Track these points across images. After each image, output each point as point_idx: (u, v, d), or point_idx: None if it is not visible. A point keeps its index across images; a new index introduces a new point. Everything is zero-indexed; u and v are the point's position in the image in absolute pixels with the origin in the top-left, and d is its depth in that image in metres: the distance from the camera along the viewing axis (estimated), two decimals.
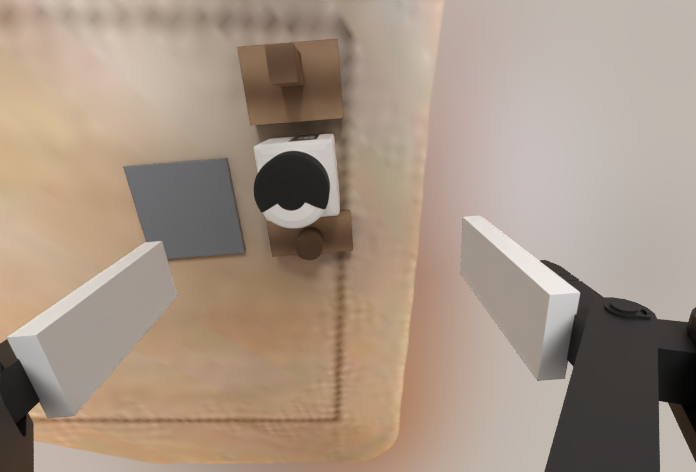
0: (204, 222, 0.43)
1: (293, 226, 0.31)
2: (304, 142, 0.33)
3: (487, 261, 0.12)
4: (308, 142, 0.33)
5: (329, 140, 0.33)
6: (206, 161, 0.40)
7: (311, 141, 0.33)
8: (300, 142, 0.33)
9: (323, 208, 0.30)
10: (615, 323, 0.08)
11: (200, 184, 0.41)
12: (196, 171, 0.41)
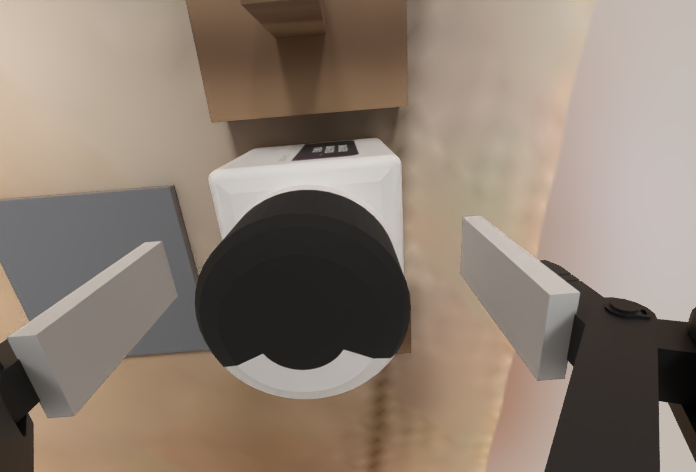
0: None
1: (308, 398, 0.11)
2: (332, 164, 0.13)
3: (487, 261, 0.12)
4: (342, 164, 0.13)
5: (393, 159, 0.13)
6: (132, 193, 0.21)
7: (349, 161, 0.13)
8: (322, 164, 0.13)
9: (392, 355, 0.11)
10: (615, 323, 0.08)
11: (125, 235, 0.22)
12: (114, 211, 0.21)
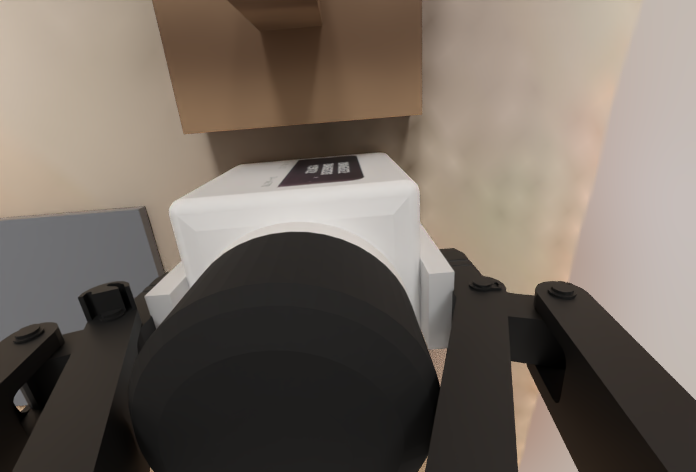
0: None
1: None
2: (329, 192, 0.10)
3: None
4: (342, 192, 0.10)
5: (410, 185, 0.10)
6: (95, 216, 0.18)
7: (352, 189, 0.10)
8: (317, 192, 0.10)
9: None
10: (477, 297, 0.09)
11: (87, 265, 0.18)
12: (74, 237, 0.18)
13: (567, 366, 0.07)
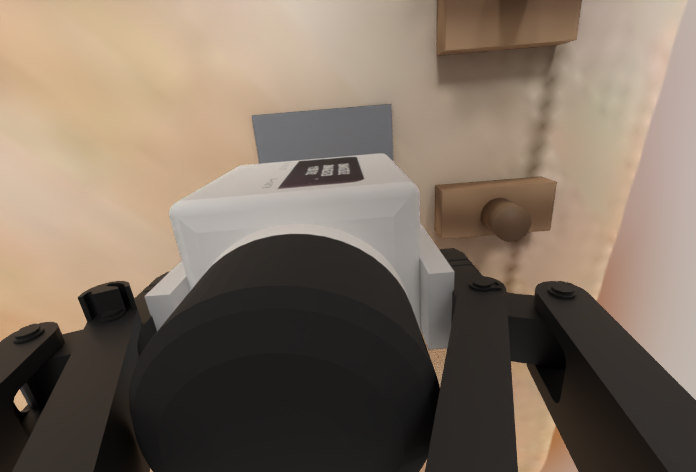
0: None
1: None
2: (330, 194, 0.10)
3: None
4: (343, 194, 0.10)
5: (410, 187, 0.10)
6: (364, 108, 0.29)
7: (352, 190, 0.10)
8: (317, 194, 0.10)
9: None
10: (477, 297, 0.09)
11: (352, 141, 0.30)
12: (349, 122, 0.30)
13: (567, 366, 0.07)
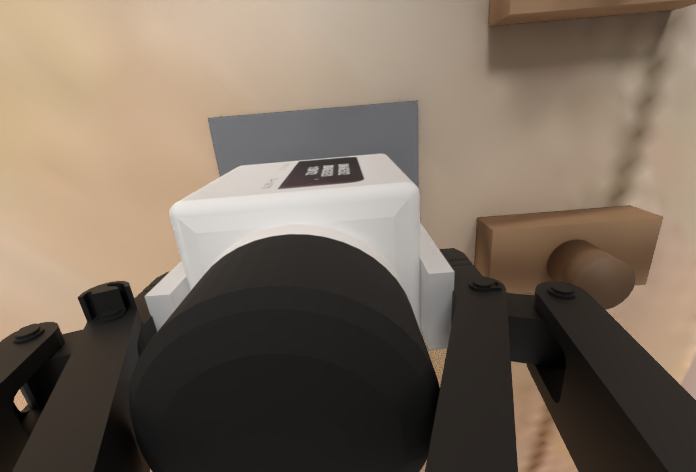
0: None
1: None
2: (330, 194, 0.10)
3: None
4: (343, 194, 0.10)
5: (410, 188, 0.10)
6: (378, 107, 0.20)
7: (352, 191, 0.10)
8: (317, 194, 0.10)
9: None
10: (477, 297, 0.09)
11: None
12: (354, 128, 0.20)
13: (567, 366, 0.07)
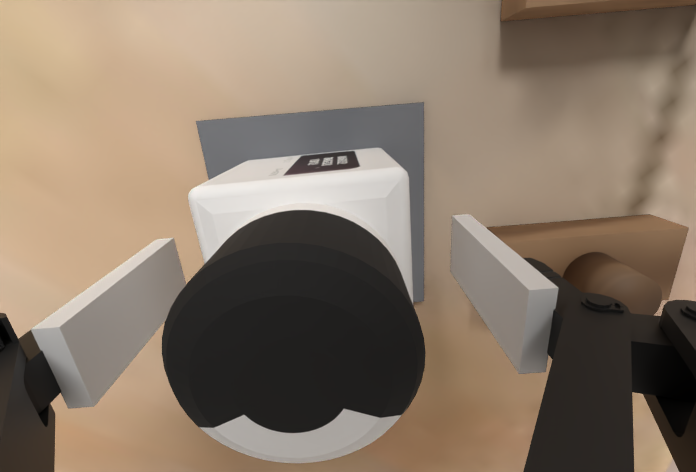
0: None
1: (302, 462, 0.09)
2: (329, 178, 0.12)
3: (474, 259, 0.13)
4: (341, 178, 0.12)
5: (400, 172, 0.12)
6: (380, 109, 0.18)
7: (349, 175, 0.12)
8: (318, 178, 0.12)
9: (403, 410, 0.09)
10: (591, 317, 0.08)
11: None
12: (355, 131, 0.18)
13: None
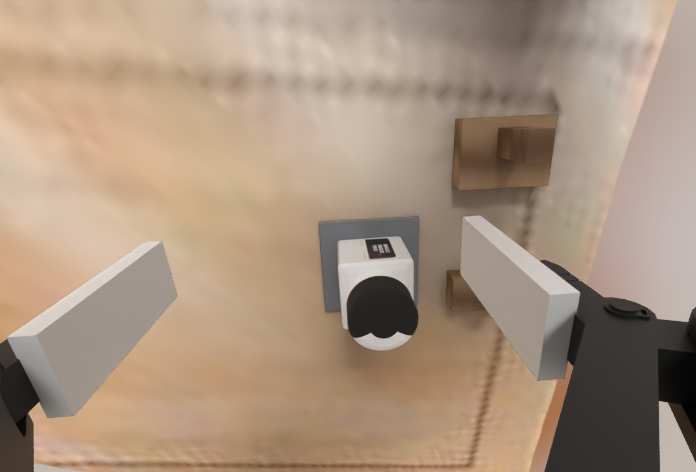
0: None
1: None
2: (387, 262, 0.35)
3: (487, 261, 0.12)
4: (391, 262, 0.35)
5: (410, 260, 0.35)
6: (400, 220, 0.41)
7: (393, 261, 0.35)
8: (383, 262, 0.35)
9: (412, 334, 0.32)
10: (615, 323, 0.08)
11: None
12: (388, 229, 0.42)
13: None
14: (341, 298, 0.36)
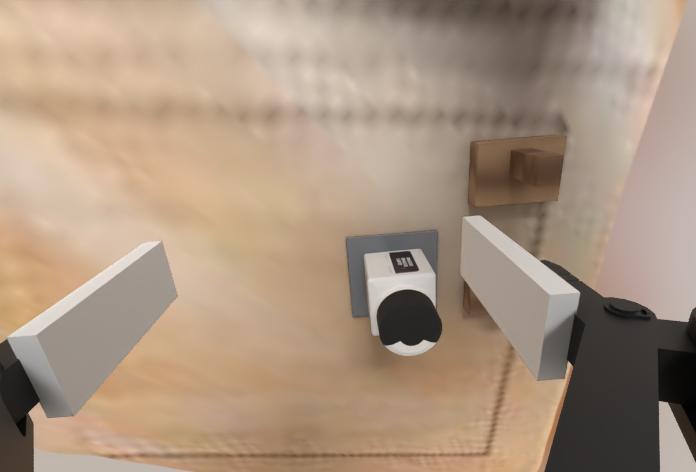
0: None
1: (410, 355, 0.36)
2: (411, 276, 0.39)
3: (487, 261, 0.12)
4: (415, 276, 0.39)
5: (433, 274, 0.39)
6: (420, 234, 0.45)
7: (417, 275, 0.39)
8: (408, 276, 0.39)
9: (436, 341, 0.36)
10: (615, 323, 0.08)
11: None
12: (409, 242, 0.45)
13: None
14: (370, 308, 0.40)
